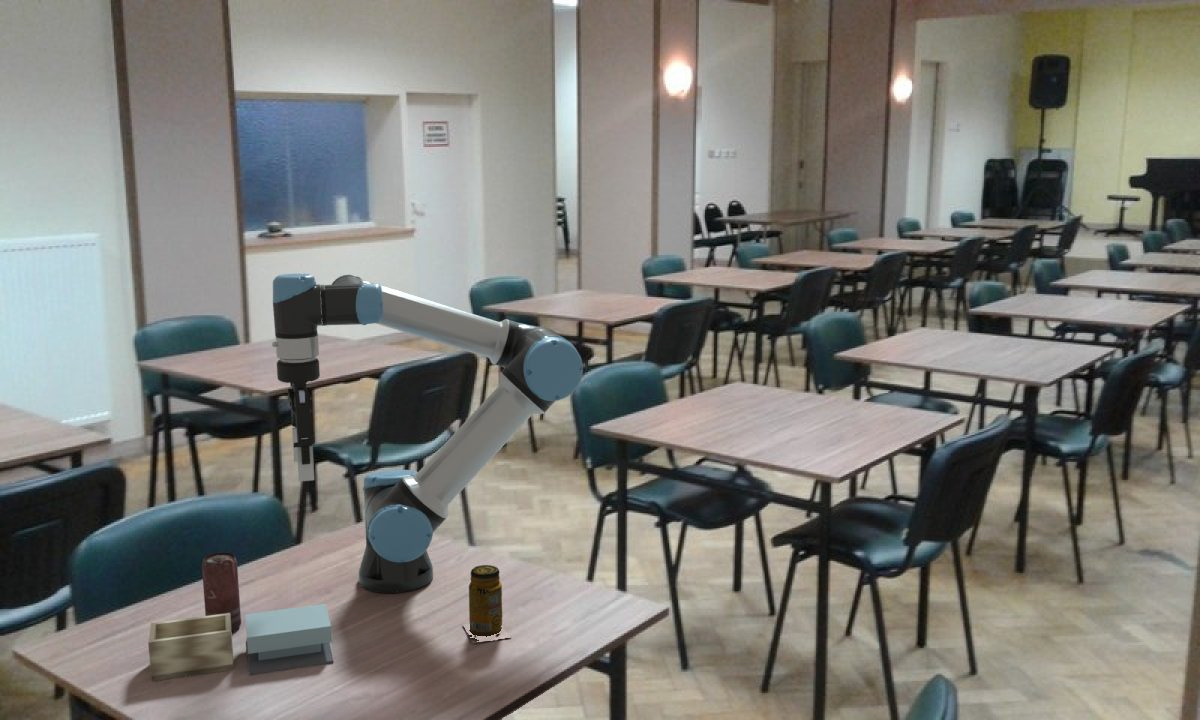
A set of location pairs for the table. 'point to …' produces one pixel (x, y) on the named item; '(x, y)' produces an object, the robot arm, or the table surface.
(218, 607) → the can
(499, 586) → the condiment
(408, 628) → the table surface
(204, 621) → the crate
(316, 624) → the lid
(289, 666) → the mat
